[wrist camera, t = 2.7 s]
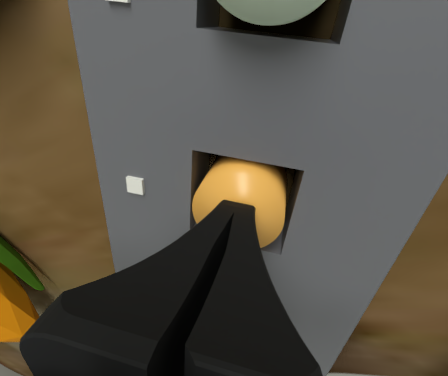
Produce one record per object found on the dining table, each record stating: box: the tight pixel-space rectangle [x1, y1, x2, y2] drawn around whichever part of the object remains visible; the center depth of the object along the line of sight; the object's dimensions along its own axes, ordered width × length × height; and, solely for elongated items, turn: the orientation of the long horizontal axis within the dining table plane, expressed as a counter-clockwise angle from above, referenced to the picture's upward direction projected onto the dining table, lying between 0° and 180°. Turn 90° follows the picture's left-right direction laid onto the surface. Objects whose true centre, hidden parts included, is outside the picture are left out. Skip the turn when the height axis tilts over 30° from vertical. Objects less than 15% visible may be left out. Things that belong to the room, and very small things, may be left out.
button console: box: [68, 0, 448, 376], centre depth 13 cm, size 14×30×3 cm, turn 174°
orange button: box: [192, 155, 287, 248], centre depth 13 cm, size 4×4×3 cm
